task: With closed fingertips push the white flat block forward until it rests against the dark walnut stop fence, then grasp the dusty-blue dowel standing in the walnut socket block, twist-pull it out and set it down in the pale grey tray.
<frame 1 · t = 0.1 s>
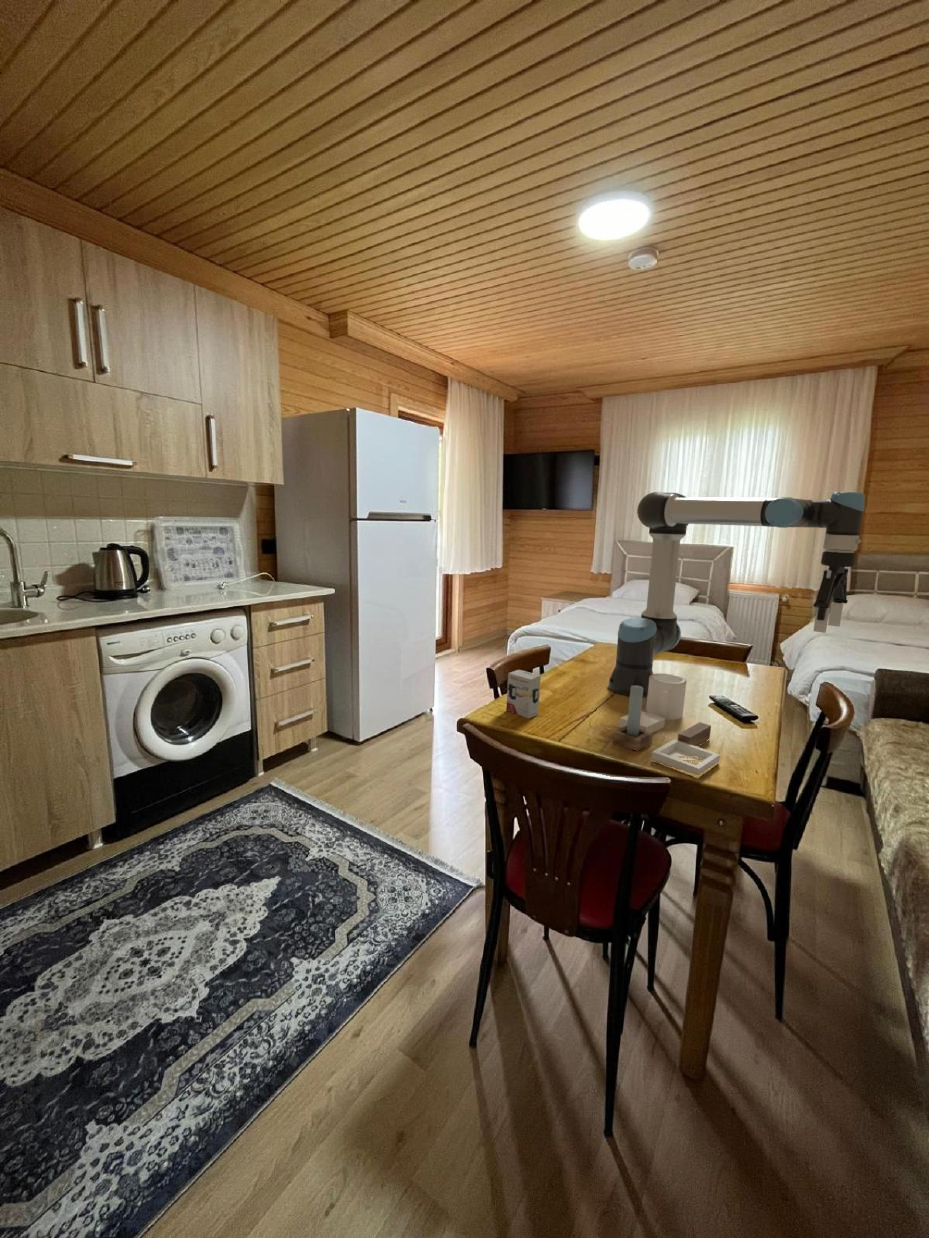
hand: (826, 628, 147), 28 cm above the table, fingers open, 13 cm apart
ink box: (522, 713, 156), on the table
dowel: (634, 715, 135), in the socket block
stop fence: (693, 744, 137), on the table
tray: (684, 762, 127), on the table
white flat block: (641, 728, 148), on the table
socket block: (631, 743, 137), on the table
mug: (663, 714, 158), on the table
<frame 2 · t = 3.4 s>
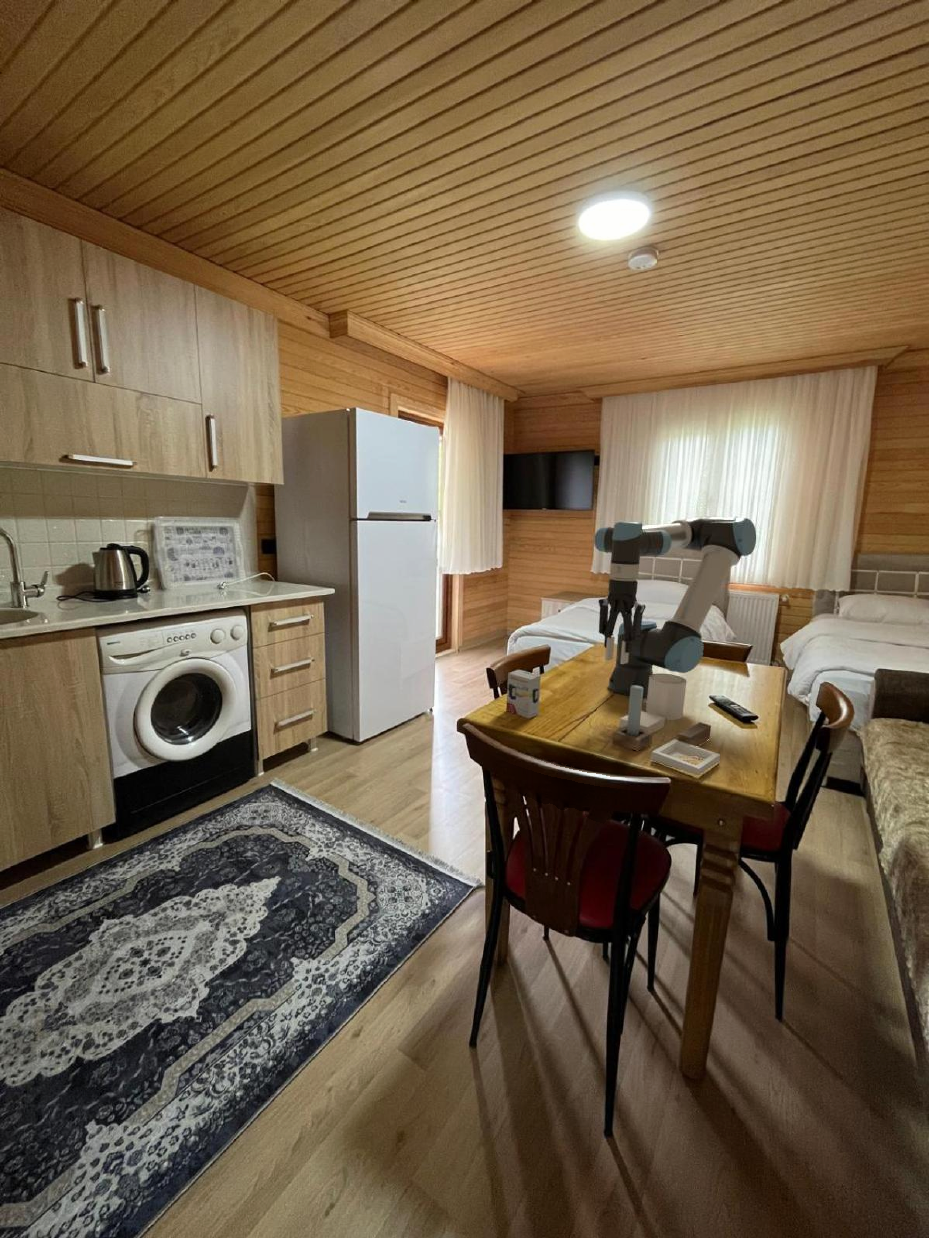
hand: (616, 661, 151), 17 cm above the table, fingers open, 4 cm apart
nothing on the table moved.
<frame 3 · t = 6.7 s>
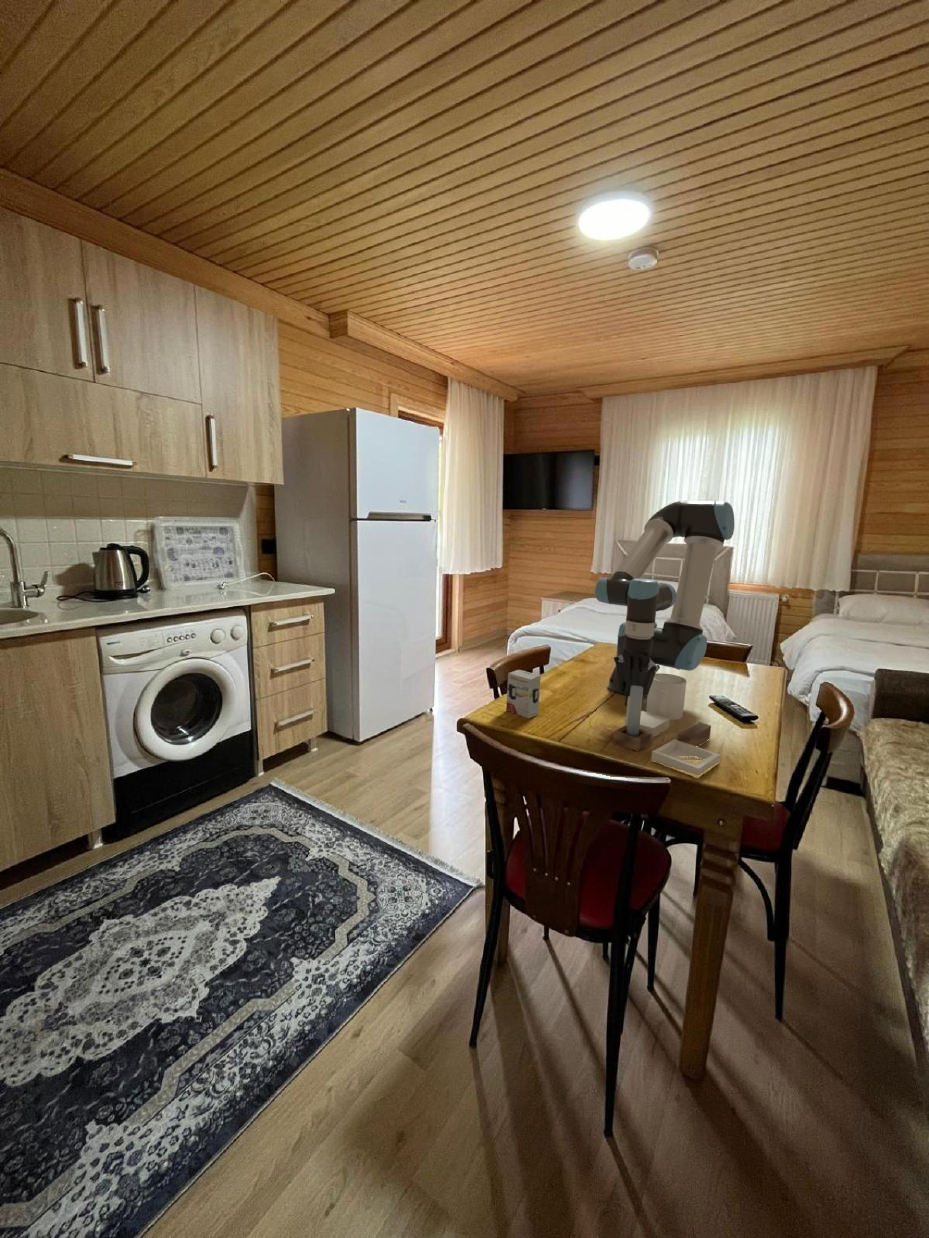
hand: (630, 718, 150), 2 cm above the table, fingers closed
white flat block: (646, 729, 147), on the table, touching gripper
everything else where it was.
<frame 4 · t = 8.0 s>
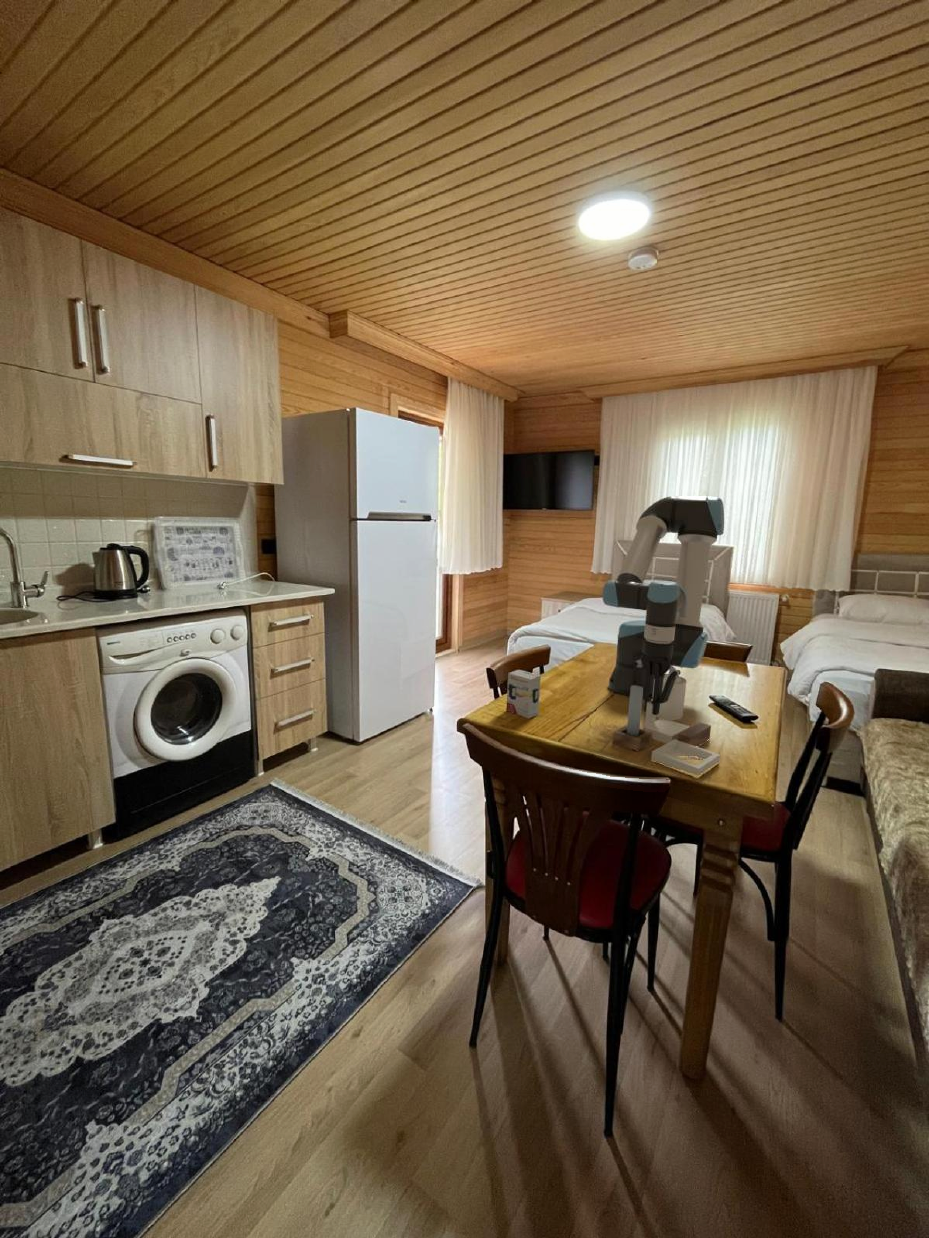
hand: (649, 724, 146), 1 cm above the table, fingers closed
white flat block: (665, 737, 143), on the table, touching gripper
everything else where it was.
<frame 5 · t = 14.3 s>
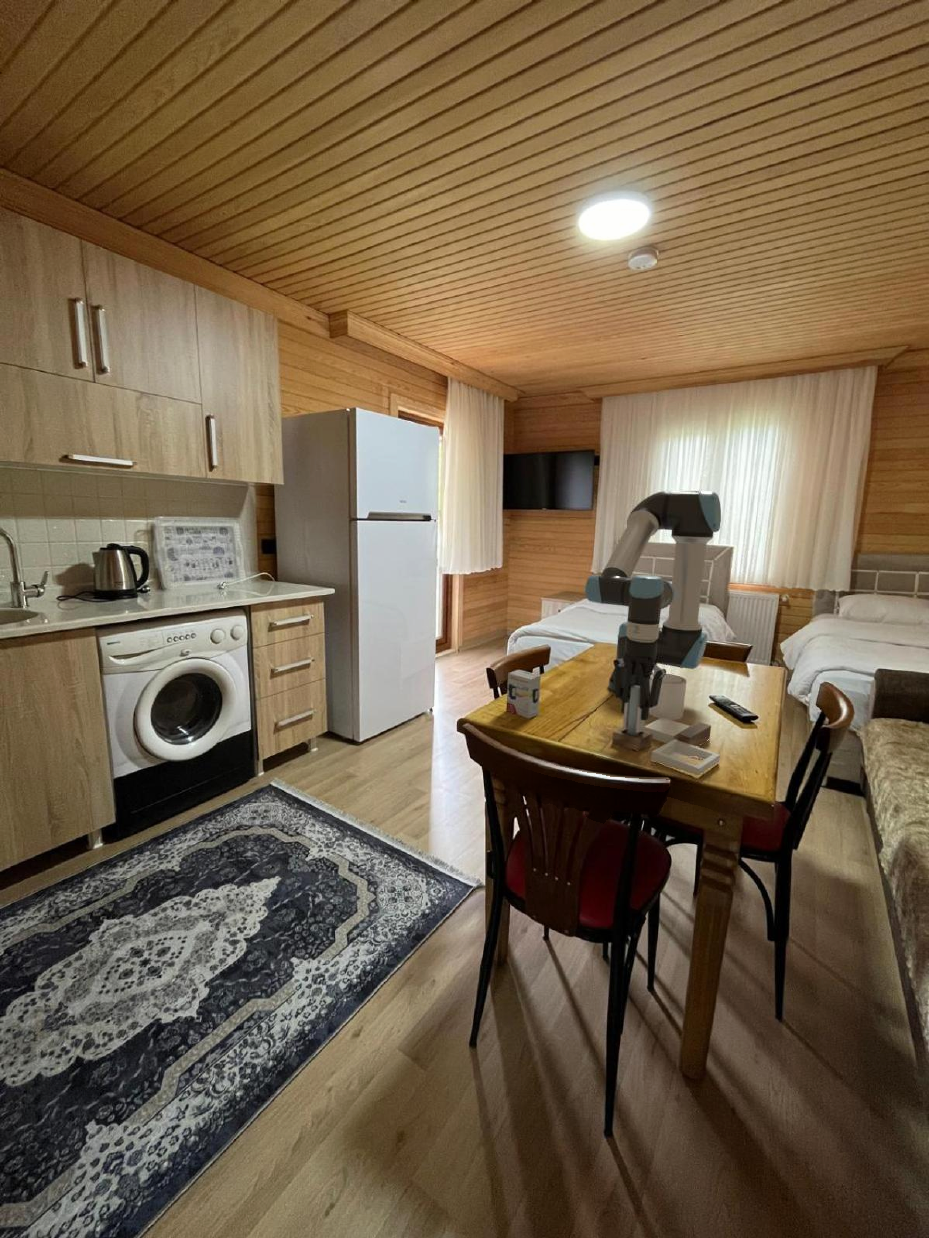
hand: (633, 728, 136), 4 cm above the table, fingers closed on dowel, 3 cm apart
dowel: (634, 715, 135), in the socket block, touching gripper
white flat block: (666, 736, 143), on the table
everything else where it was.
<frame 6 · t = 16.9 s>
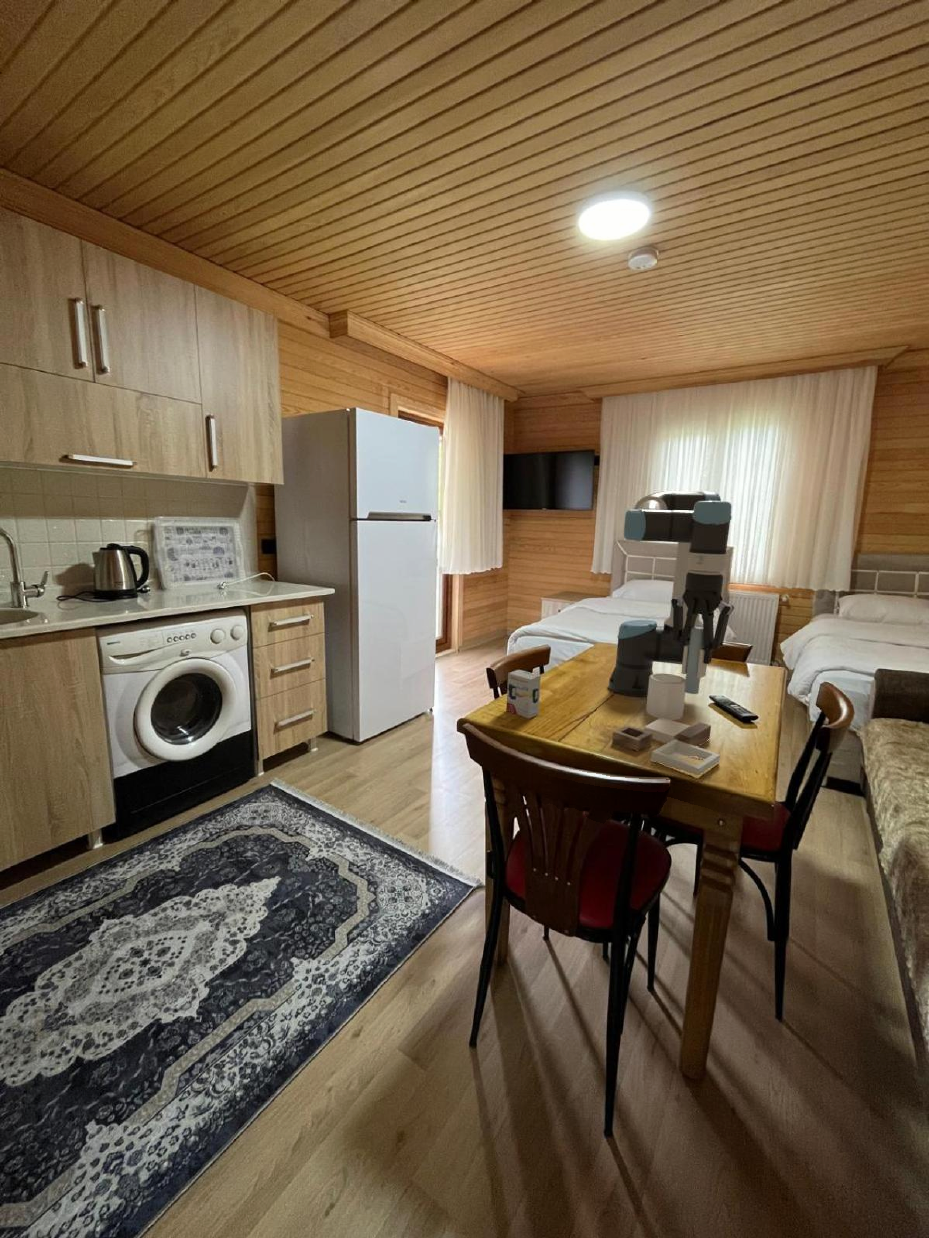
hand: (693, 674, 123), 22 cm above the table, fingers closed on dowel, 3 cm apart
dowel: (694, 660, 122), point 25 cm above the table, touching gripper
everything else where it was.
when the fingers open (7 cm above the table, at t = 20.0 s): dowel stays where it is, resting on tray.
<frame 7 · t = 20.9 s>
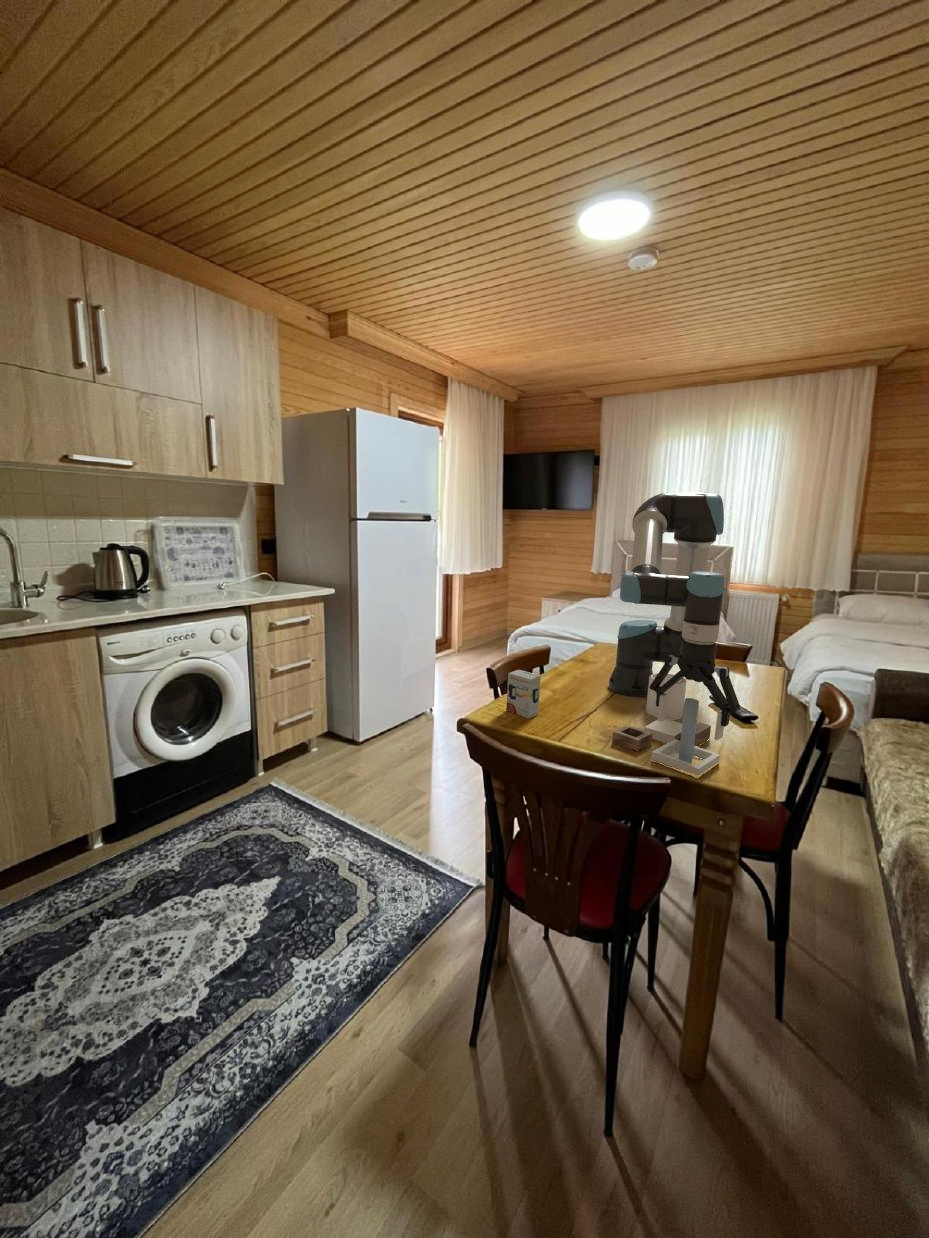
hand: (688, 729, 125), 9 cm above the table, fingers open, 13 cm apart
dowel: (688, 730, 125), in the tray, point 8 cm above the table
everything else where it was.
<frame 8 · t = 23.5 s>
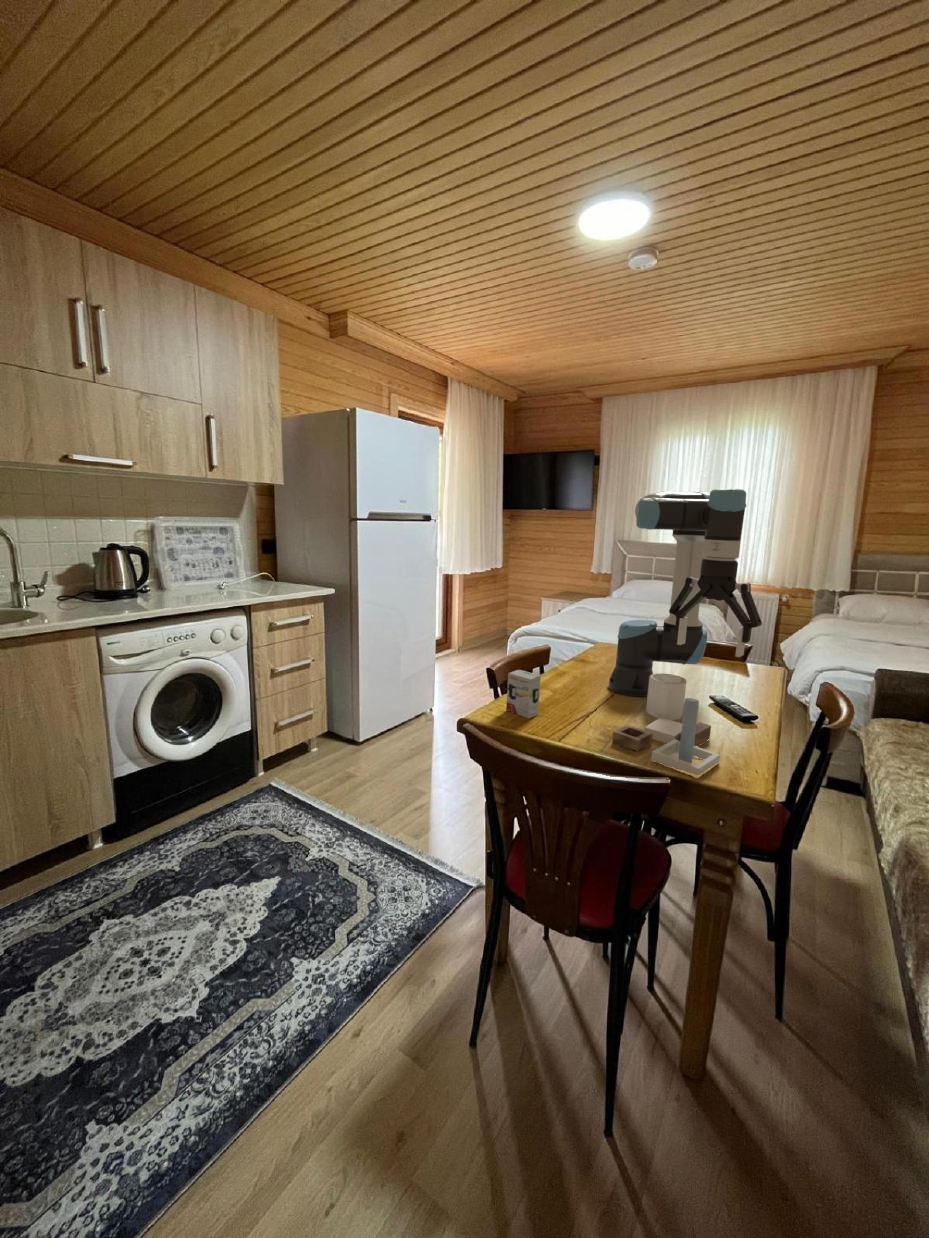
hand: (709, 649, 126), 27 cm above the table, fingers open, 13 cm apart
nothing on the table moved.
at the end: white flat block inside the target area (1.1 cm from its centre), on the table; dowel inside the target area on the tray (0.1 cm from its centre), point 8.1 cm above the tray's base; mug moved 0.2 cm from its start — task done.
